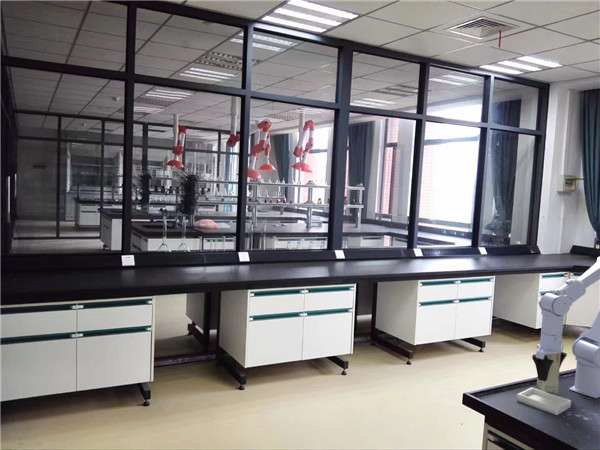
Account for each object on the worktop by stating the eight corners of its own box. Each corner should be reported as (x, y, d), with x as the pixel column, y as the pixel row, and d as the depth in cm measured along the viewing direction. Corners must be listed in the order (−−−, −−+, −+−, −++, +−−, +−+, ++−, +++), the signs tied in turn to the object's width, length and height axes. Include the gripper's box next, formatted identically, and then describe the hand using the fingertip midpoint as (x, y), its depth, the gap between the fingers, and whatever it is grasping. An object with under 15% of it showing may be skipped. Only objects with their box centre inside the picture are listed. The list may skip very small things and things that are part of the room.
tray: (531, 393, 149) (531, 387, 149) (570, 407, 140) (571, 400, 140) (516, 400, 143) (517, 394, 143) (557, 415, 134) (557, 408, 134)
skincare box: (558, 393, 146) (561, 353, 145) (542, 392, 147) (546, 352, 146) (550, 385, 153) (554, 346, 152) (536, 384, 153) (539, 345, 152)
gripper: (548, 326, 156) (544, 368, 157) (527, 333, 147) (523, 378, 148) (571, 332, 151) (568, 375, 152) (551, 339, 142) (547, 386, 142)
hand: (547, 377), depth 149 cm, fingers closed on skincare box, 7 cm apart
